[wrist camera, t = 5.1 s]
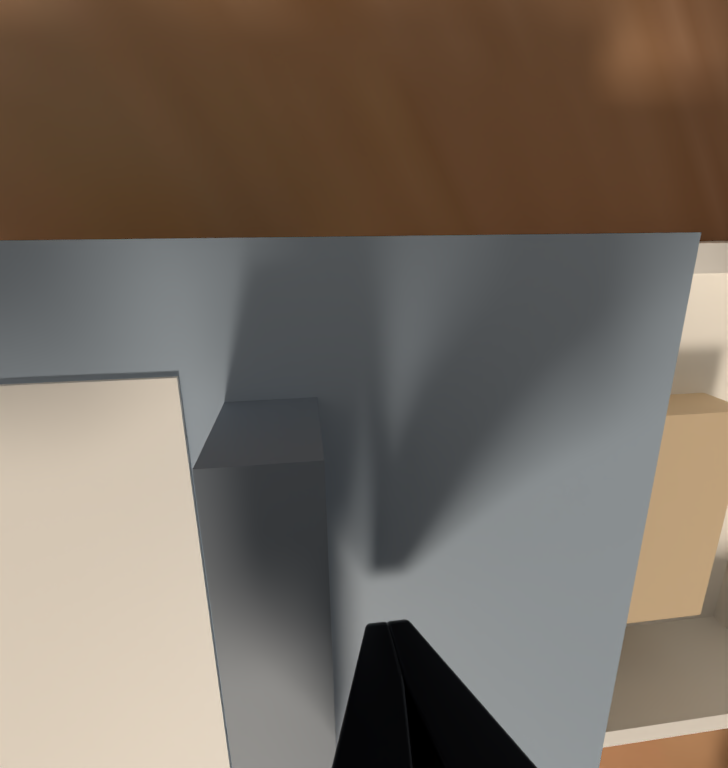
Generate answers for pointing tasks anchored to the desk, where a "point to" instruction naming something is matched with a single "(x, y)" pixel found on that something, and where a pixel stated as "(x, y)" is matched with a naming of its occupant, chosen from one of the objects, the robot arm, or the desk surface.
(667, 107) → the desk surface
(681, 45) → the desk surface
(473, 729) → the robot arm
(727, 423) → the box
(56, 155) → the desk surface
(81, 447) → the lid
